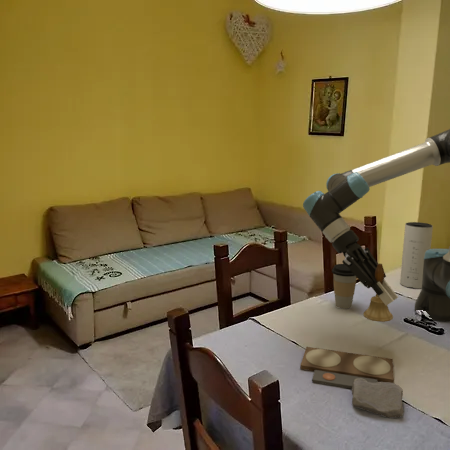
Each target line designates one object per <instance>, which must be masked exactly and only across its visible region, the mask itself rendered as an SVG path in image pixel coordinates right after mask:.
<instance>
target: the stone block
mask: <svg viewBox="0 0 450 450" xmlns="http://www.w3.org/2000/svg"><path fill="white" fill-rule="evenodd" d="M403 391H404V390H403V388H402V387H401V386H400V385H398V384H397V383H389V382H378V381H377V383H371V382H367V381H365V380H363V379H358V380H356V381H354V383H353V386H352V389H351V394H352V399H351V400H352V401H351V403H352V404H351V405H352V406H353V407H354V408H357V409H360V410H363V411H367V412H369V413H372V414H375V415H378V416H383V417H385V418H391V419H392V418H396V419H397V418H403V416H404V412H405V411H404V407H403V396H404V394H403V393H404V392H403Z"/></svg>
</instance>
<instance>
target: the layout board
mask: <svg viewBox="0 0 450 450" xmlns="http://www.w3.org/2000/svg"><path fill="white" fill-rule="evenodd" d="M299 367H300V368H299V369H300V370H304V371H309V372H310V371H311V372H314V371H315V370H319V371H326V372H332V373H339V374H345V375H351V376H358V377H364V378H370V379H377V383H378V382H389V383H394V382H395V381H394V380H395V379H394V378H395V377H394V374H395V373H394V358H389V357H383V356H382V357H381V356H375V355H367V354H362V353H361V354H360V353H354V352H353V353H352V352H346V351H340V350H339V351H338V350H333V349H325V348H319V347H310V346H306V347H305V350H304V353H303V356H302V359H301V362H300V365H299ZM394 384H395V383H394Z"/></svg>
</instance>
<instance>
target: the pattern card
mask: <svg viewBox="0 0 450 450" xmlns="http://www.w3.org/2000/svg"><path fill="white" fill-rule="evenodd" d="M358 379H363V380H365V381H367V382H371V383H378V381H377V379H370V378H364V377H358V376H351V375H345V374H339V373H332V372H326V371H319V370H315V371H313V376H312V379H311V382H312V383H315V384H321V385H326V386H332V387H337V388H344V389H348V390H349V389H350V390H352V386H353V383H354V381H356V380H358Z"/></svg>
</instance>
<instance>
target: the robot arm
mask: <svg viewBox="0 0 450 450" xmlns="http://www.w3.org/2000/svg"><path fill="white" fill-rule="evenodd" d="M449 163H450V128H449V129H447V130H444V131H442V132H439V133H438V134H435V135H432V136H430V137H427V138H426V139H425V140H424V142H422V143H420V144H417V145H414V146H412V147H409V148H406V149H404V150H401V151H398V152H396V153H391V154H390V155H388V156H384V157H382V158H380V159H376V160H373V161H372V162H369V163H365V164H364V165H363V164H362V165H361V166H358V167H355V168H352V169H349V170H347V171H344V172H341V173H340V172H339V173H338V172H337V173H334V174H331V175H330V176H329V177H328V178H327V180H326V184H325V186H326V190H327V192H325V193H324V192H322V191H321V190H317V191H315V192H313V193H311V194H310V195H308V196H307V197H306V198H305V200H304V201H303V204H302V208H303V209H304V211H305V212H306V214H307V215H308V216H309V218H310V219H311V220H312V221H313V223H314V224H315V225H316V226H317V228H318V229H319V230H320V231H321V233H322V234H323V235H324V237H325V238H326V240H327V241H328V242H329V243H331V246H332V247H333V249H334V250H335V251H336V252H337V253H338V254H342V255H343V256H344V259H343V260H342V264H345V265H346V266H347V267H348V268H349V269H350V270H351V271H352V272H353V273H354V275H355V276H356V279H357V280H358V281H359V282H360V283H361V284H362V285H363V286H364V287H365V288H367V289H370V288H372V290H373V291H374V293H375V295H376V294H377V295H378V296H379V297H380V299H381V300H382V301H383V303H384V304H385V305H386V306H389V304H391V303H393V302H394V301H395V300H396V299H398V298H399V296H398V295H397V293H396V292H395V290H393V288H392V287H391V286H390V285H389V283H388V282H387V281H386V280H385V279H386V277H387V275H386V272H384V281H383V283H382V284H381V283H380V282H378V283H377V281H376V279H375V270H376V268H377V265H378V264H379V263H378V262H377V259H376V258H375V257H374V255H373V254H372V252H371V251H370V248H369V247H365V248H363V247H362V246H361V245H360V244H359V243H358V242H359V239H360V238H359V236H358V235H357V234H356V233H355V232H354V230H352V229H351V226H350V225H349V223H348V222H347V221H346V220H345V219H344V218H343V217H342V216H341V213H342V212H344V211H345V210H346V209H348V208H349V207H351V206H352V205H353V204H354V203H356V202H357V201H359V200H360V199H362V198H363V197H364V196H366V194H367V193H369V192H370V188H372V187H375V186H377V185H379V184H382V183H385V182H387V181H390V180H393V179H396V178H399V177H401V176H404V175H408V174H409V173H412V172H415V171H418V170H421V169H424V168H426V167H429V166H432V165H433V166H435V167H438V166H441V165H444V164H449ZM413 310H414V312H415V311H416V310H423V311H426V312H427V313H428V314H429V315H430V316H431V318H432V319H433V320H432V321H435V322H436V321H437V322H448V323H449V322H450V247H448V248H431V249H429V250H427V251H426V252H425V256H424V265H423V278H422V289H420V292H419V295H418V296H417V298H416V300H415V302H414V309H413Z"/></svg>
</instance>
